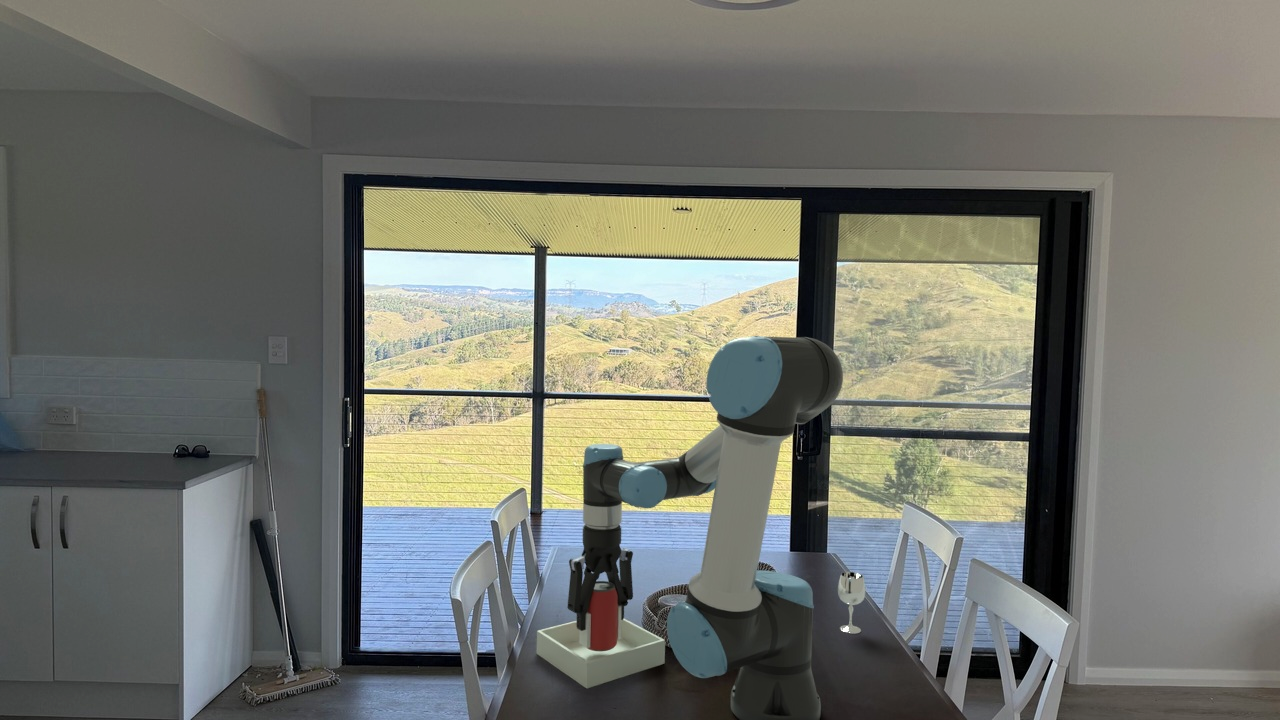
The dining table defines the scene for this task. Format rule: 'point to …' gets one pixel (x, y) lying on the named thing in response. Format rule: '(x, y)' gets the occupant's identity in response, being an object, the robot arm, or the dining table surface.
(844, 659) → the dining table surface
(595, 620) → the beer can
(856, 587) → the wineglass
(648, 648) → the bin
